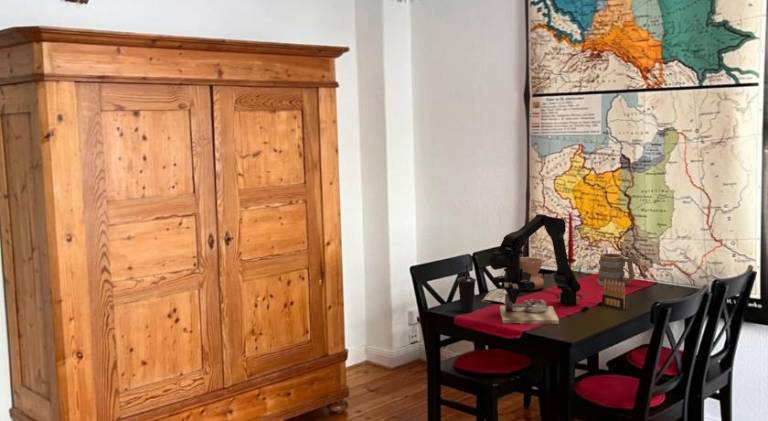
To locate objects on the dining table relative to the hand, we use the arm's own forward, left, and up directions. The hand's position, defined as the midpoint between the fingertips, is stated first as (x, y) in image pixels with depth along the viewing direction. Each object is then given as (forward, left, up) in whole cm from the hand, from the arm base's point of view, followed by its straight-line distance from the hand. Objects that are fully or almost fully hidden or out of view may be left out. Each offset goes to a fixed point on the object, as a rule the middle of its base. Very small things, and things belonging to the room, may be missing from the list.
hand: (514, 303), depth 323 cm
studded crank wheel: (-5, -4, -4) cm, 7 cm away
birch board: (-6, -2, -6) cm, 8 cm away
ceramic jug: (-10, -50, -6) cm, 51 cm away
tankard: (-53, -59, -6) cm, 79 cm away
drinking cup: (+19, -9, -6) cm, 22 cm away
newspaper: (+5, -32, -7) cm, 33 cm away
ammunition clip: (-43, -17, -6) cm, 46 cm away
